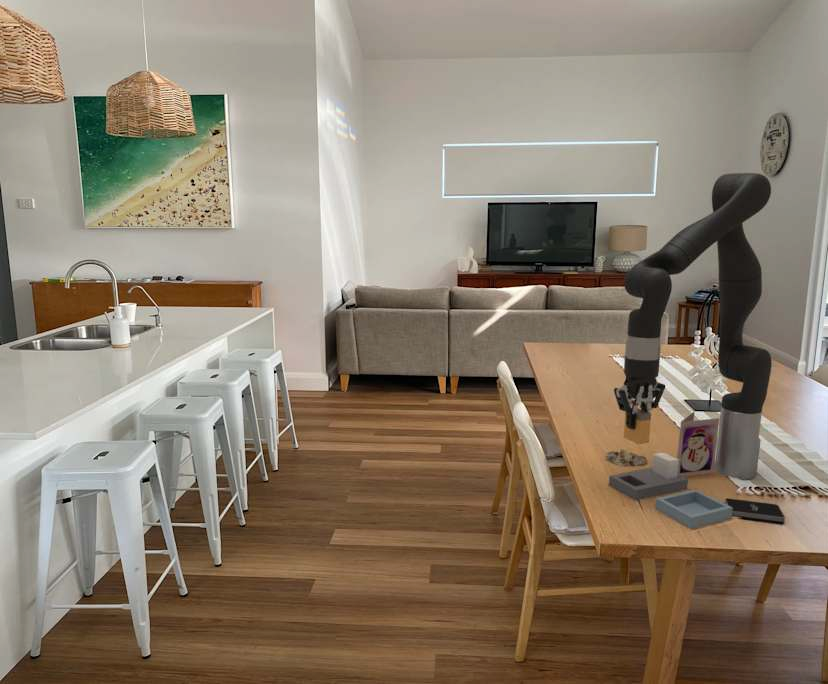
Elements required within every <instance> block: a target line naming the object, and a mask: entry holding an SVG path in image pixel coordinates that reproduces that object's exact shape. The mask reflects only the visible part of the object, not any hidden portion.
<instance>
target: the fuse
mask: <svg viewBox="0 0 828 684" xmlns="http://www.w3.org/2000/svg"><path fill="white" fill-rule="evenodd" d="M678 461H679V459H677V458H676V457H674V456H671V455H670V454H668V453H666V452H658V453H653V457H652V472H653V473H655V474H657V475H659V476H661V477H663V478H665V479H667V480H669V479H674V478H677V472H678Z"/></svg>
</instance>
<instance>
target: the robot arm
mask: <svg viewBox="0 0 828 684" xmlns="http://www.w3.org/2000/svg"><path fill="white" fill-rule="evenodd" d="M711 191H712V192H711V204H712V205H711V207H712V212H711V213H710V214H708V215H707V216H704V217H702V218H701V219H699V220H697V221H695V222H693V223H691V224H689V225H688V226H686V227H685V228H684V227H683V229H681V230H680V231H679V232H677V233H676V234H674V236H672V238H671V239H669V240H668V241H667V242H666V244H664V245H663V246H662V247H661V248H660V249H659V250H657V251H656V252H654V253H652V254H650V255H649V256H647V257H646V258H645V257H644V259H642V260H640V261H639V262H638V263H635V264H634V266H632V267H631V268H630V270H628V272H627V273H626V275H625V278H624V282H623V283H624V285H623V286H624V290H625V291H626V293H628V295H630V296H632V297H635V298H640V299H642V302H641V305H640V307H639V308H635V309H633V310H631V311H630V312H629V315H628V320H627V321H628V322H627V323H628V324H627V337H626V342H625V349H624V365H623V366H624V367H623V374H624V375H625V380H624V382H623V385H622V386H620V387H615V388H614V389H613V394H614V396H615V399H616V403H617V406H618V409H619V410H620V411H623V412H624V413H625V412H626V413H627V414H626V426H627V427H628V428H630V429H632V430H633V429H635V428H636V416H637V414H636V412H637V408H638V407H639V409H641V410H643V411H646V412H648V413H651V412H652V410H653V409H657V408H658V406H659V403H660V401H661V399H662V397H663V394H664V392H665V389H666V385H665V384H664V383H661V382H658V381H657V377H658V376H659V375H660V374H659V372H660V363H661V362H660V360H661V358H660V357H661V348H662V347H661V346H662V345H661V334H662V333H661V332H662V331H661V330H662V318H663V317H664V314H665V311H666V310H667V309H666V308H667V306H668V304H669V300H670V297H671V294H672V289H673V283H672V278H671V276H673V275H678V274H681V273H683V272H684V271H685V270H686V269H688V267H689V266H691V264H693V263H694V262H695V261H696V260H697V259H698V258H699V257H700V256H701V255H702V254H703V253H704V252H706V251H707V250H708V249H709V248H710V247H712V245H714V244H715V243H716V245H717V247H716V248H717V257H718V258H717V259H718V260H717V261H718V262H717V263H718V292H719V293H718V295H719V308H720V309H719V311H720V312H719V315H720V318H719V319H720V321H719V322H720V324H719V326H720V327H719V339H718V340H719V341H718V354H717V356H718V357H717V363H718V369H719V372H720V374H721V376H722V377H724V378H726V379H728V380H731V381H735V382H739V383H742V388H741V391H739V392H731V393H725V394H724V395H723V396H722V398H721V405H720V414H719V427H718V436H717V445H716V454H715V463H714V471H715V472H717V473H718V474H720V475H723V476H725V477H730V478H733V479H738V480H750V479H753V478H754V477H755V475H757V473H758V472H757V471H758V466H759V456H760V449H761V440H762V439H761V438H760V430H761V423H762V415H763V414H762V413H763V409H764V408H763V407H764V404H765V401H766V398H767V394H768V388H769V384H770V378H771V375H772V374H771V372H772V366H773V365H772V364H773V363H772V362H773V361H772V356H771V353H770V352H769V351H768V350H766V349H764V348H761V347H756V346H752V345H751V346H750V345H747V344H744V343H743V342H744V341H743V330H744V326H745V324H746V321H747V319H748V318H749V316H750V314H751V313H752V312H753V311H754V309H756V306H757V305H758V303H759V301H760V299H761V296H762V292H763V291H762V290H763V284H762V283H763V281H762V280H763V279H762V278H763V277H762V276H763V275H762V266H761V264H760V261H759V259H758V256H757V254H756V253H755V251H754V249H753V248H752V246H751V244H750V243H749V241H748V239H747V237H746V234H745V231H744V225H743V223H744V222H746V221H747V220H749V219H751V218H752V217H754V216H755V215H756V214H758V213H759V212H760V211H762V209H764V208H765V206H767V204H768V202H769V201H770V198H771V194H772V185H771V182H770V181H769V179H768V177H766V176H765V175H763V174H761V173H756V172H739V173H738V172H735V173H732V172H731V173H724V174H723V175H720V176H719V177H717V179H716V181H715V183H713V187H712V190H711Z"/></svg>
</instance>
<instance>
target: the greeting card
mask: <svg viewBox="0 0 828 684" xmlns="http://www.w3.org/2000/svg"><path fill="white" fill-rule="evenodd" d="M695 412H696V411H693V412H692V413H690V414H689V415H688V416H686V417H685V418H684V419H683V420H681V421H680V426H679V428H680V430H679V437H678V447H677V458H676V459H679V461H678V472H677V474H678V475H680V476H682V477H688V476H689V477H691V476H698V475H705V474H713V473H714V471H715V469H714V467H715V458H716V449H717V440H718V431H719V422H720V417H719V418H707V419H699V420H698V419H697V420H696V419H695Z"/></svg>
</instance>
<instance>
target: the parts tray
mask: <svg viewBox="0 0 828 684" xmlns="http://www.w3.org/2000/svg"><path fill="white" fill-rule="evenodd" d="M724 503H725V502H723V501H720V500H718V499H716V498H714V497H712V496H709V495H708V494H706V493H704V492H702V491H700V490H697V489H692V490H691V489H690V490H688V491H683V492H679V493H675V494H673V493H672V494H670V495H665V496H661V497H657V498H655V505H654V506H655V507H654V509H655V510H656V511H658V512H660V513H662V514H663V515H666V516H667V517H669V518H670V519H672V520H675V522H678V523H679V524H681V525H683V526H684V527H686V528H687V529H688V528H689V529H690V530H689V531H694V530H695V531H696V530H699V529H704V527H705V528H707V527H708V526H709V527H712V525H713V526H715V525H716V524H717V525H719V524H720V523H721V524H724V522H725V523H726V522H730V521H732V517H733V516H732V510H733V507H731V506H729V505H726V504H724ZM726 520H727V521H726ZM691 529H692V530H691Z"/></svg>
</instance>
